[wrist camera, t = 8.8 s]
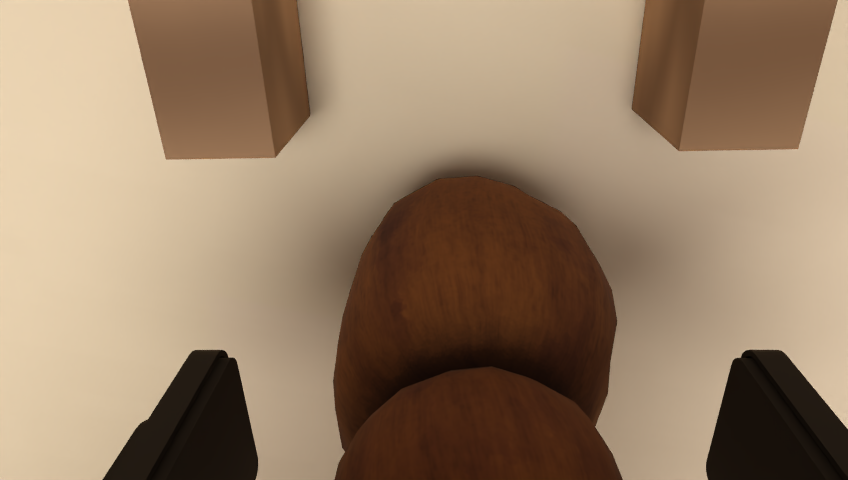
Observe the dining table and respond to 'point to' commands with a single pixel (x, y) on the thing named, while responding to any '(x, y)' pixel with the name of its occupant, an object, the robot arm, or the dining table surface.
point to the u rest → (653, 95)
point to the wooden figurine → (475, 343)
